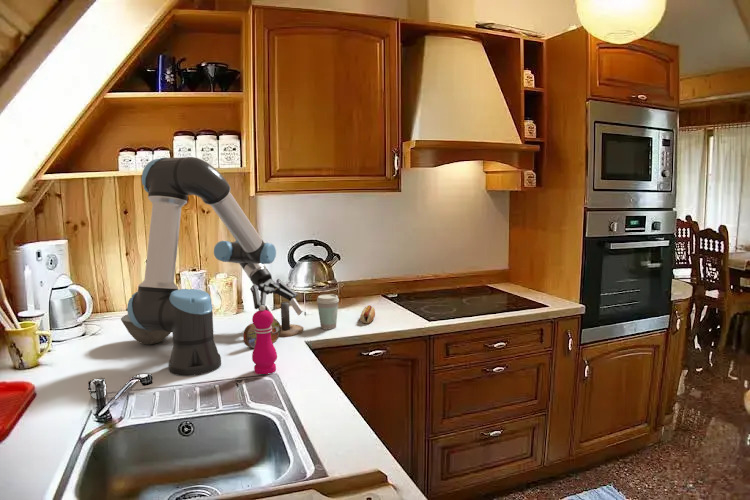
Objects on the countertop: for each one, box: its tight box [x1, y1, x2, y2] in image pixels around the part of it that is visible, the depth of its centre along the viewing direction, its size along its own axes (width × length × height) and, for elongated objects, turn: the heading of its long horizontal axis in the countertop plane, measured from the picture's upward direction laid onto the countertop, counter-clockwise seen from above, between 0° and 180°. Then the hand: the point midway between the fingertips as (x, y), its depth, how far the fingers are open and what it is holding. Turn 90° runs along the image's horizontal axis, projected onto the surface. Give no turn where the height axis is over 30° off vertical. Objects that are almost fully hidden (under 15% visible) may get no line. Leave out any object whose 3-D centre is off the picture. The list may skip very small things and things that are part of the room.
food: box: [359, 305, 376, 324], centre depth 212 cm, size 14×6×5 cm, turn 174°
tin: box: [242, 319, 281, 349], centre depth 182 cm, size 15×3×8 cm, turn 143°
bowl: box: [120, 313, 172, 345], centre depth 186 cm, size 19×19×10 cm
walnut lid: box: [279, 301, 305, 338], centre depth 196 cm, size 13×13×11 cm
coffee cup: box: [316, 293, 340, 330], centre depth 202 cm, size 9×8×12 cm
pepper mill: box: [251, 305, 278, 375], centre depth 156 cm, size 7×7×20 cm
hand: (288, 317), depth 196 cm, fingers open, 13 cm apart
